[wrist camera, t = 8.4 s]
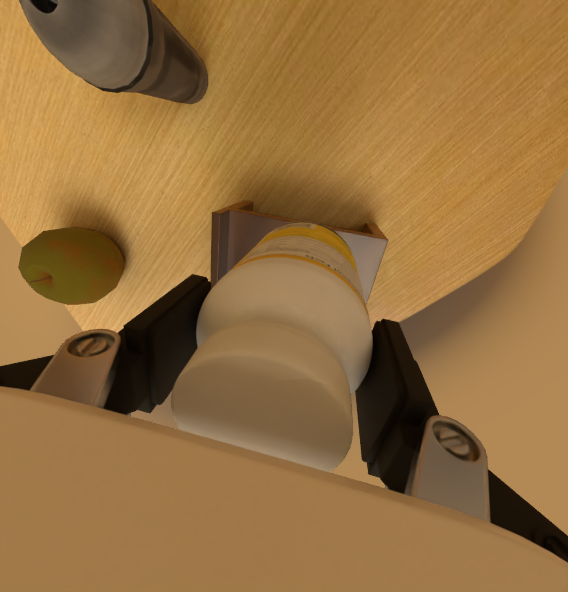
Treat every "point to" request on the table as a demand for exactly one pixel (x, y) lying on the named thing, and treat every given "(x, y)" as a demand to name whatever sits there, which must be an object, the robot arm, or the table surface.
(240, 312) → the pill bottle
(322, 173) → the table surface
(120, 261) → the apple
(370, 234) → the shelf
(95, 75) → the beverage cup
